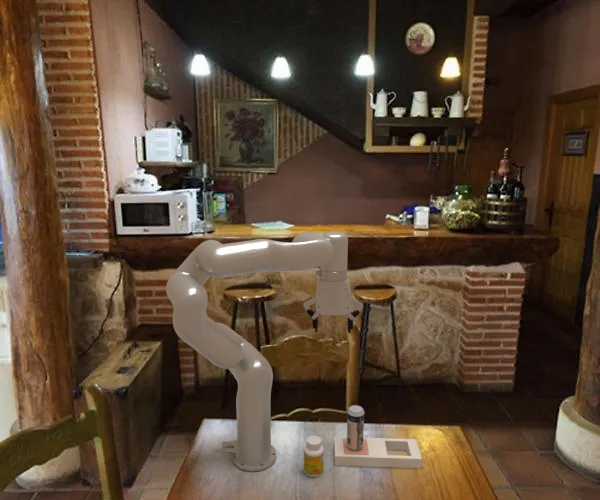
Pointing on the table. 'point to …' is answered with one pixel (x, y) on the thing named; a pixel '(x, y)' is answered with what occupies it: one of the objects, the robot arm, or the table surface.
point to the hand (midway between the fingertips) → (332, 330)
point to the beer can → (355, 427)
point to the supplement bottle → (313, 456)
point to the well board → (377, 453)
